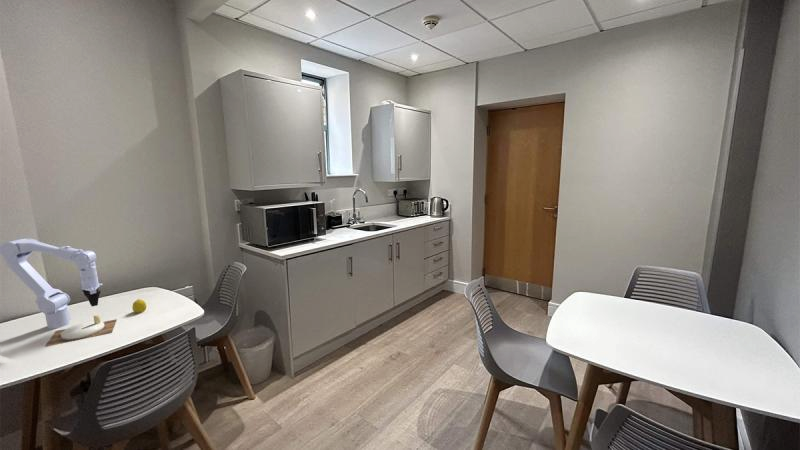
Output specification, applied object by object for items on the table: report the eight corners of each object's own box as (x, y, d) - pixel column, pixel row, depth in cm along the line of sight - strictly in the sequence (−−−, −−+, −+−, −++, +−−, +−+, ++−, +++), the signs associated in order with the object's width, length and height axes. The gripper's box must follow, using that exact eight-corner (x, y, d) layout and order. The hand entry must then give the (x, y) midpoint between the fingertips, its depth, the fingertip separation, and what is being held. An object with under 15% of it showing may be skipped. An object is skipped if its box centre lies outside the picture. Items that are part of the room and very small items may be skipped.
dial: (74, 342, 137) (72, 330, 136) (53, 336, 141) (51, 325, 140) (112, 327, 150) (110, 316, 149) (91, 322, 154) (90, 312, 153)
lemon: (139, 316, 164) (137, 301, 162) (130, 315, 165) (128, 300, 163) (150, 312, 169) (148, 297, 168) (141, 311, 170) (139, 296, 169)
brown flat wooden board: (56, 333, 146) (55, 330, 146) (117, 322, 158) (116, 318, 158) (44, 350, 133) (44, 346, 133) (112, 336, 145) (111, 332, 145)
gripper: (103, 278, 149) (107, 306, 151) (98, 271, 159) (102, 297, 161) (81, 282, 144) (87, 310, 146) (78, 275, 153) (83, 302, 156)
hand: (93, 304), depth 153 cm, fingers open, 4 cm apart
